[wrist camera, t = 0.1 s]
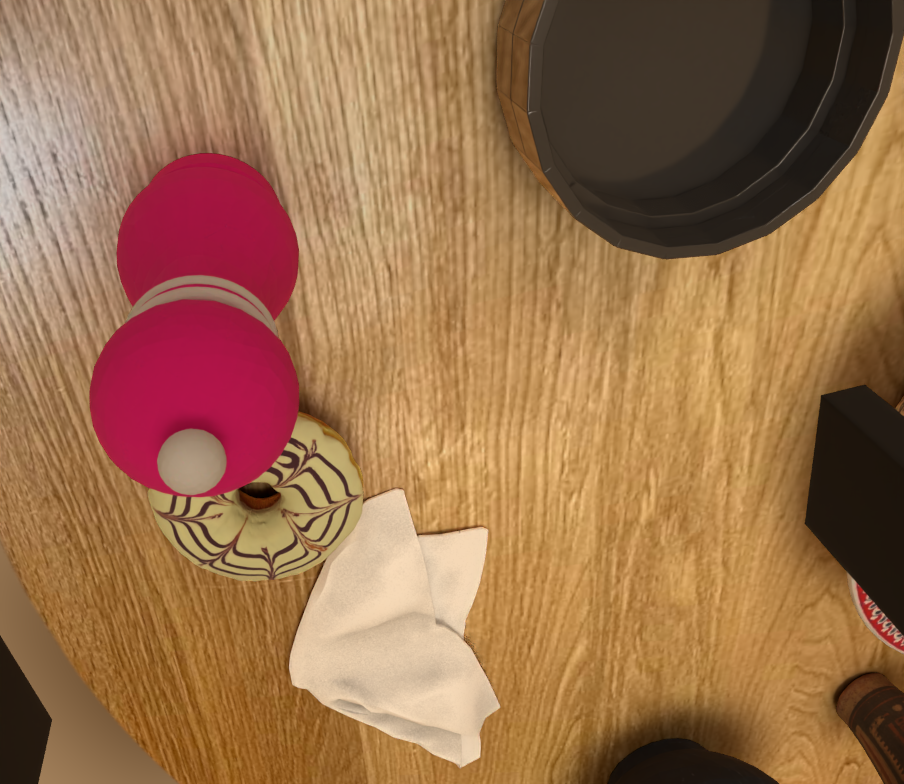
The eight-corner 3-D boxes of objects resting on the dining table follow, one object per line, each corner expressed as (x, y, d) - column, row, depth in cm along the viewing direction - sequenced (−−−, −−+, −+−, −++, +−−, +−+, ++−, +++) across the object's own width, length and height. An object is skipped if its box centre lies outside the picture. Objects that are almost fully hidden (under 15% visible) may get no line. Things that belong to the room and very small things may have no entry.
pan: (420, 12, 36) (446, 31, 31) (743, -260, 33) (823, -283, 29) (604, 278, 44) (646, 324, 40) (873, 78, 42) (951, 102, 37)
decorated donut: (238, 348, 42) (238, 386, 39) (395, 454, 47) (406, 495, 44) (115, 486, 45) (105, 532, 42) (276, 572, 50) (279, 619, 47)
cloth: (254, 511, 47) (255, 538, 46) (492, 471, 49) (502, 495, 48) (317, 791, 61) (319, 820, 59) (501, 750, 63) (509, 777, 61)
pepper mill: (321, 190, 39) (380, 425, 22) (250, 317, 41) (255, 613, 25) (170, 109, 36) (106, 310, 19) (103, 251, 38) (-6, 539, 22)
